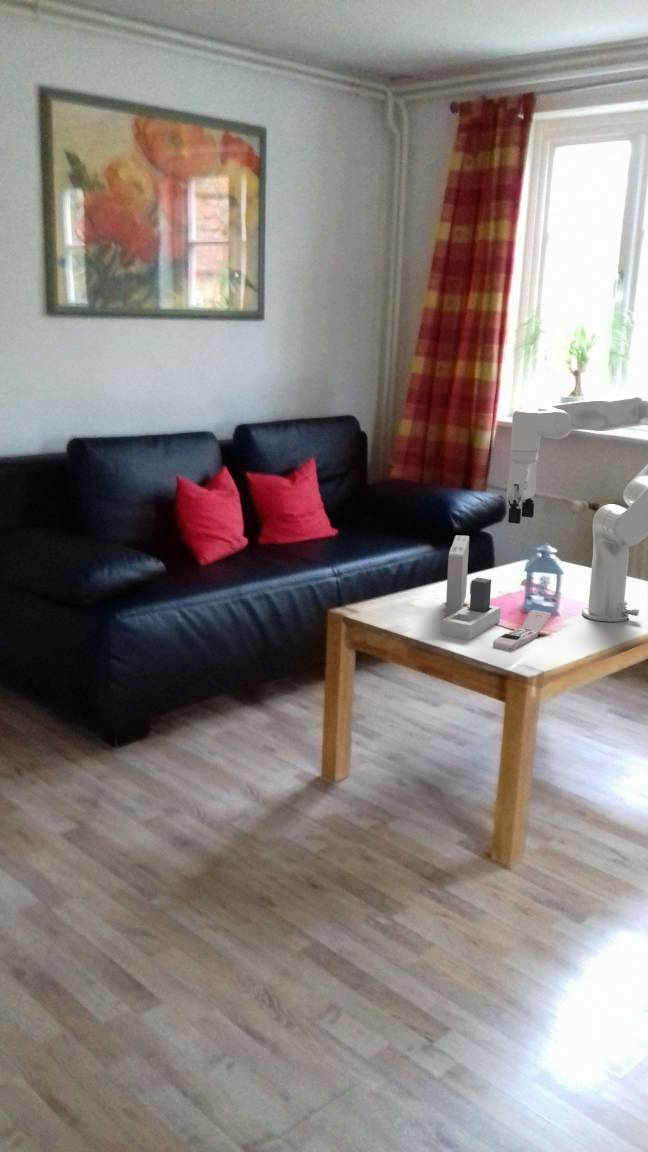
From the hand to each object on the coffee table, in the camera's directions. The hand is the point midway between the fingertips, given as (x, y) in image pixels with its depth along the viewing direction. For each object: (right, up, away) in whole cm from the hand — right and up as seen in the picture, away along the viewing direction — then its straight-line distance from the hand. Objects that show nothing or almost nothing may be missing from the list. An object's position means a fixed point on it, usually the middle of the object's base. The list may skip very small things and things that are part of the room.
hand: (520, 519), depth 276 cm
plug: (-11, -28, 0) cm, 30 cm away
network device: (-16, -26, +12) cm, 33 cm away
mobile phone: (-3, -33, -12) cm, 35 cm away
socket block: (-14, -30, -4) cm, 33 cm away
